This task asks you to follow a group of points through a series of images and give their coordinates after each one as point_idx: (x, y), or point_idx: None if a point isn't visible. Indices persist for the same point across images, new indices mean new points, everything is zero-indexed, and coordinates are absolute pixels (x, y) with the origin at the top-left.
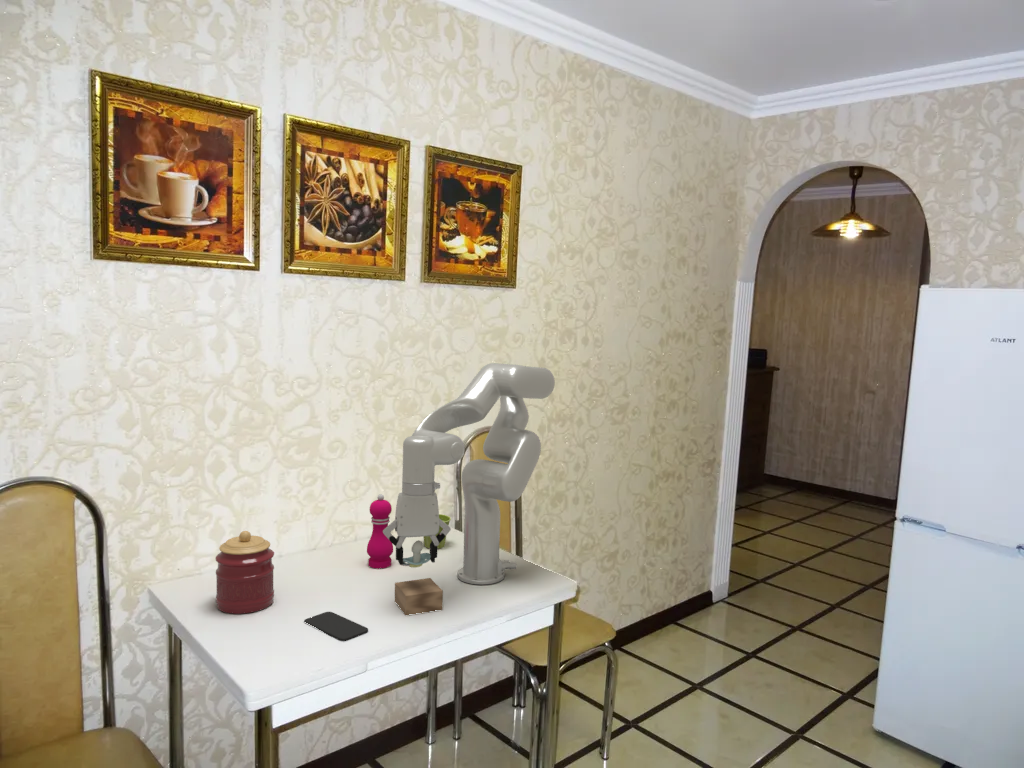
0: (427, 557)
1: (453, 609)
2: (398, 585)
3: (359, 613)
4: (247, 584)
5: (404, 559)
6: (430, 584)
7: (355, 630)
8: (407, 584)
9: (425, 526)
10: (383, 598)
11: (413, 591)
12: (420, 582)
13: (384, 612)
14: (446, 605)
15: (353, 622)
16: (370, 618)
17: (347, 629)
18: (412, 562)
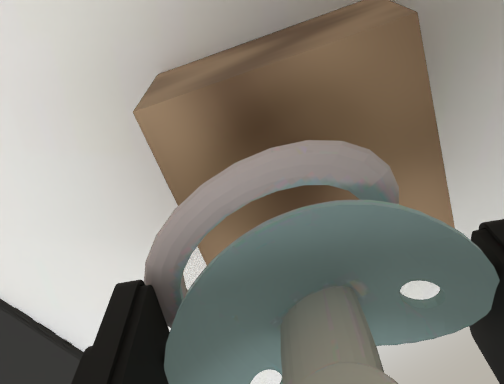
0: (448, 286)
1: (476, 188)
2: (167, 163)
3: (4, 217)
4: None
5: (189, 339)
6: (397, 153)
7: (47, 380)
8: (231, 147)
9: None
10: (78, 18)
11: None
12: (327, 113)
13: (126, 210)
14: (452, 138)
15: (14, 323)
16: (74, 267)
17: (13, 373)
18: (274, 335)
